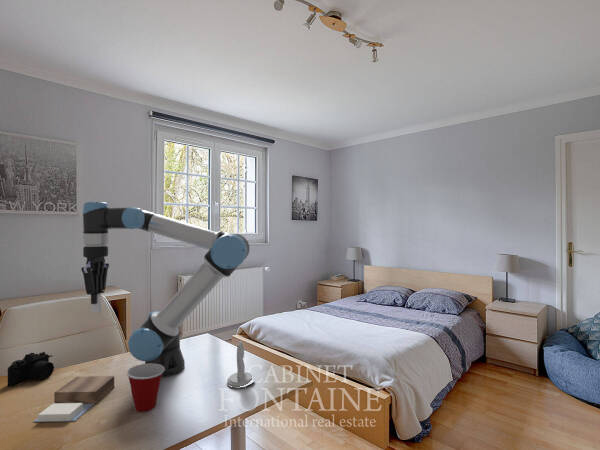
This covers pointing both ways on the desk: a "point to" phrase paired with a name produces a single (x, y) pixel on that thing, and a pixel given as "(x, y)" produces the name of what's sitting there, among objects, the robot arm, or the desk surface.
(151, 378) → the plastic cup
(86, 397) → the brown wooden flat block
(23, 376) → the film camera
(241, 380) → the grey stemmed stand
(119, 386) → the desk surface
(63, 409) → the white rectangular block
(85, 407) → the mat
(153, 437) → the desk surface
